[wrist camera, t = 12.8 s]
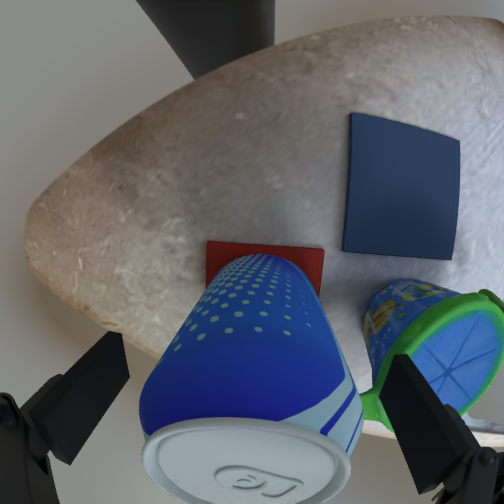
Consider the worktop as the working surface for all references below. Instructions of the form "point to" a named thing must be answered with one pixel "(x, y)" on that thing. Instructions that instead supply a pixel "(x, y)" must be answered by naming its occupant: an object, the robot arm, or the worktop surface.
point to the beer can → (252, 395)
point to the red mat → (300, 256)
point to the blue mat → (401, 190)
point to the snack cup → (434, 341)
